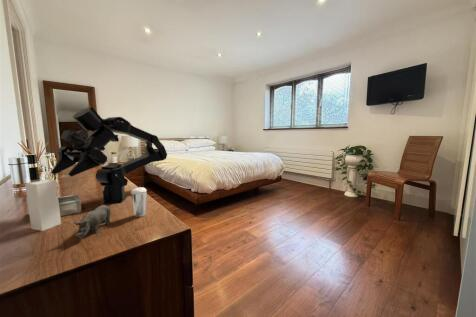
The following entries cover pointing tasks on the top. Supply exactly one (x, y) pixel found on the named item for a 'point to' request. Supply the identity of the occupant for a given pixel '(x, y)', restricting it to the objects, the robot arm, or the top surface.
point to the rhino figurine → (93, 221)
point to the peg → (43, 204)
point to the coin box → (69, 204)
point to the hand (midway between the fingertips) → (60, 174)
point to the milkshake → (139, 201)
